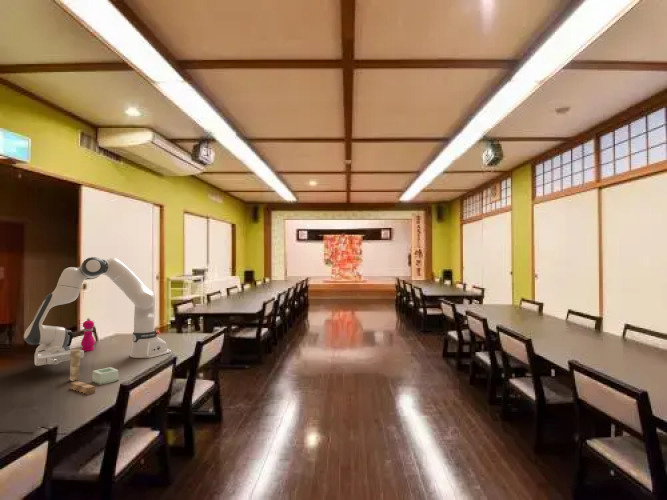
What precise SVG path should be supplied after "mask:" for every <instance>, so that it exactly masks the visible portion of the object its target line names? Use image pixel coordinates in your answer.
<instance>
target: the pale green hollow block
mask: <svg viewBox="0 0 667 500" xmlns="http://www.w3.org/2000/svg"><path fill="white" fill-rule="evenodd" d="M91 379H92V380H91V381H92V383H94V382H95V384H97V385H99V386H101V385H106V384H110V383H114V382H115V383H116V382H119V369H117V368H114V367H111V366H109V367H105V368H100V369H96V370H92V378H91Z"/></svg>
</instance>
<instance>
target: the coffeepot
mask: <svg viewBox="0 0 667 500" xmlns="http://www.w3.org/2000/svg"><path fill="white" fill-rule="evenodd" d="M66 330H67V333H68V340H67V343H66V345H65V346H64V347H63V349H65V351H68V350H71V344H72V341H73V338H74V334H73V331H72V330H70V329H66Z"/></svg>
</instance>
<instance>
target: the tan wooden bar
mask: <svg viewBox="0 0 667 500" xmlns="http://www.w3.org/2000/svg"><path fill="white" fill-rule="evenodd" d="M72 389H73V391H75V390H76V392H78V391H79V392H78V393H81V392H83V393H82V394H84V393H86V394H85V395H87V394H89V395H92V394H91V393H93V394H96V386H95V385H92V384H89V383H86V382H82V381H79V380H76V381H71V382H70V390H72Z"/></svg>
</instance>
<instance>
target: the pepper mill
mask: <svg viewBox="0 0 667 500" xmlns="http://www.w3.org/2000/svg"><path fill="white" fill-rule="evenodd" d="M94 326H95V322H94V321H93V320H91V318H90V317H88V318H86V320H85V321H83V323H82V328H83V332H84V334H83V337H82V339H81V342H80V345H81V346H82V347H81V350H83V351H84V352H92V351H94V350H95V349H94V348H95V347H94V345H95V343H96V341H95V339H94V335H93V331H94Z"/></svg>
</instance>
